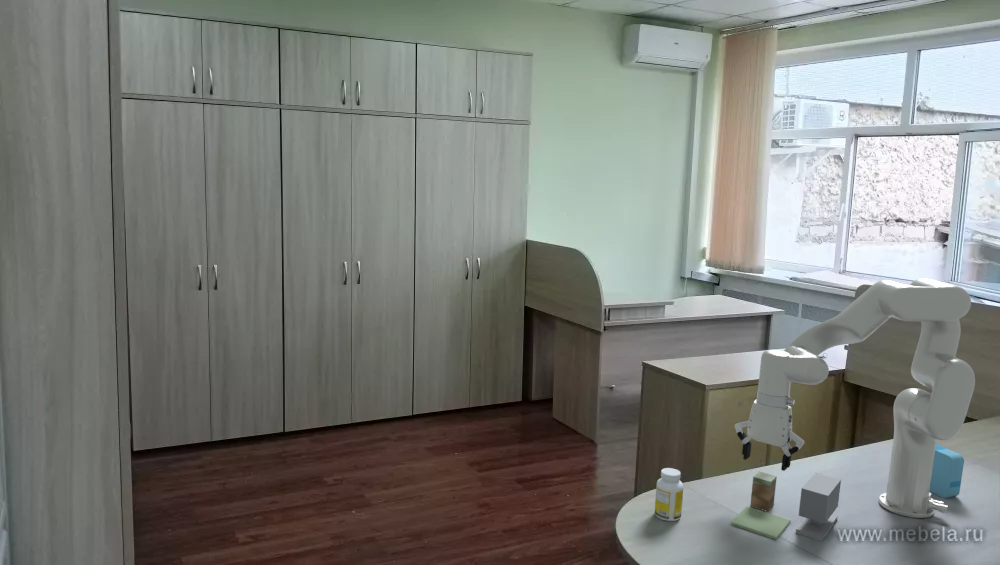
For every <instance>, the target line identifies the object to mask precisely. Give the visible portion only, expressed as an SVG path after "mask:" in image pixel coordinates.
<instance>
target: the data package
mask: <svg viewBox="0 0 1000 565" xmlns="http://www.w3.org/2000/svg"><path fill="white" fill-rule="evenodd" d="M964 464H965V459H964V457H963V455H962V454H961V453H959V452H957V451H953V450H951V449H948V448H946V447H943V446H941V445H938V444H936V448H935V455H934V461H933V468H932V475H931V482H930V489H929V493H931V494H934V495H936V496H939V497H941V498H943V499H946V498H953V497H957V496H959V495H960V491H961V484H962V477H963V473H964V472H963V470H964V466H965V465H964Z"/></svg>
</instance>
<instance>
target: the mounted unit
mask: <svg viewBox="0 0 1000 565" xmlns="http://www.w3.org/2000/svg"><path fill="white" fill-rule="evenodd" d="M841 484H842V479H840V478H837V477H833V476H829V475H825V474H823V473H818V472H815V473H813V475H812V476H811V477H809V479H808V480H807V482H805V483H804V485H803V486H802V487H801V491H800V500H799V510H798V516H799V517H802V518H803V520H802V521H801V522H800V524H798V526H797V527H796V528H795V533H796V534H798V535H801V536H805V537H808V538H811V539H813V540H817V541H820V542H822V541H823V540H824V539H825V538H826V536H827V535H828V533H829V532H830V531H829V530H831V529H832V528H833V526H834V525H835V524H836V522H837V521H838V515H835V514H833V513H835V511H836V509H837V508H838V507H839V500H840V491H841ZM836 520H837V521H836ZM834 523H835V524H834ZM831 527H832V528H831Z"/></svg>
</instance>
